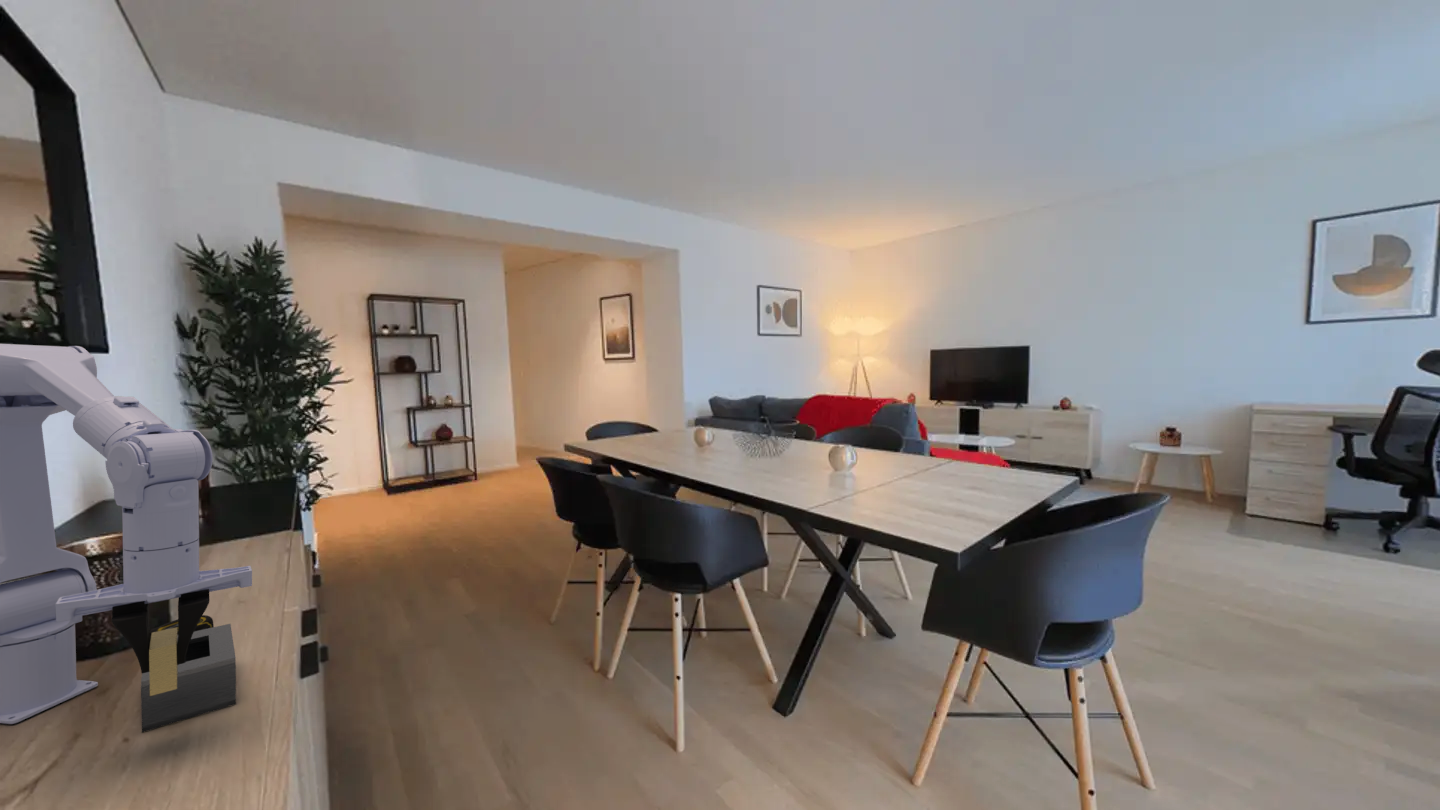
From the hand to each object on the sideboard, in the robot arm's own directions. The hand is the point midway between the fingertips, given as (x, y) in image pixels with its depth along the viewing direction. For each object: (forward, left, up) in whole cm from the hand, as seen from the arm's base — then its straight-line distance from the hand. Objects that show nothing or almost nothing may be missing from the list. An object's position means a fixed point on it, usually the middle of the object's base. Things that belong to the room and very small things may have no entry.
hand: (164, 664), depth 58 cm
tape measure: (-21, +19, -10) cm, 30 cm away
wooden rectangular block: (0, 0, -2) cm, 2 cm away
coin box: (-7, +9, -9) cm, 15 cm away
